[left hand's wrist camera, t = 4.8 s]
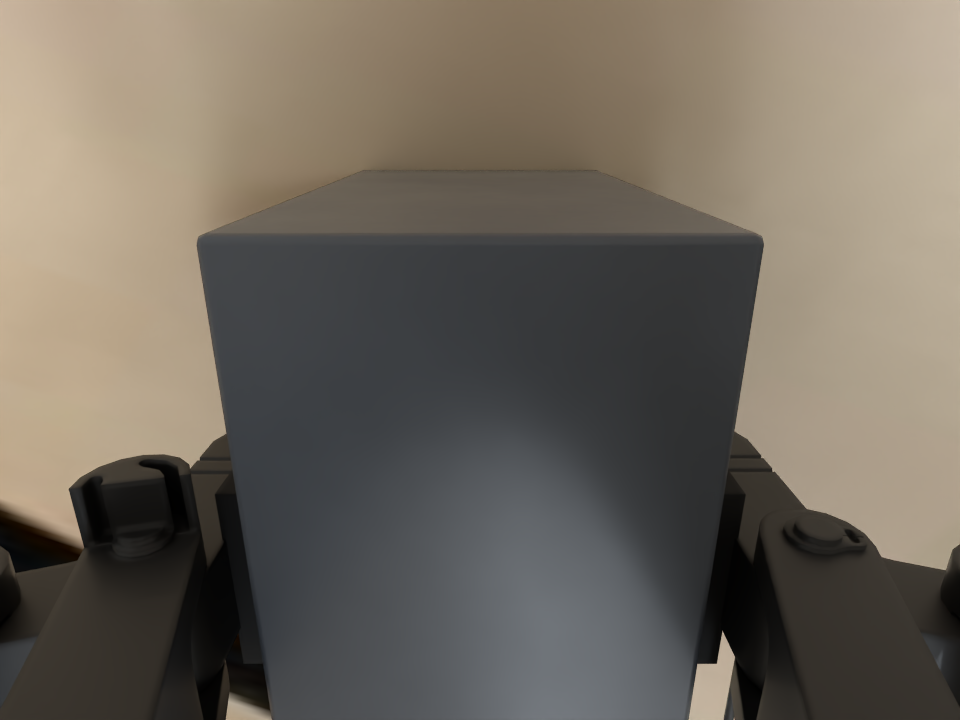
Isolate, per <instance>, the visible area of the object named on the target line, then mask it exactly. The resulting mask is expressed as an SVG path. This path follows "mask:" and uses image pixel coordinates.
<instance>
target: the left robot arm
mask: <svg viewBox="0 0 960 720" xmlns="http://www.w3.org/2000/svg"><path fill="white" fill-rule="evenodd" d="M69 492H70V496H71V499H72V503H73V507H74V511H75V514H76V518H77V522H78V526H79V529H80V533H81V537H82V541H83V544H84V549H83V551H82V553H81V555H80V557H79V559H78V561H74V562H70V563H66V564H61V565H56V566H51V567H46V568H40V569H35V570H30V571H25V572H20V573H15V571H14V567H13V564H12V561H11V558H10V555H9V552H7V551H6V550H5V549H3V548H2V547H1V546H0V720H226V713H227V705H228V698H229V690H230V685H229V678H228V671H227V666H226V661H225V660H226V658H227V655H228V653H229V651H230V649H231V647H232V645H233V643H234V641H235V639H236V637H237V634H238V633H239V639H240V645H241V650H242V656H243V662H244V664H263V659H262V653H261V647H260V640H259V634H258V628H257V621H256V615H255V609H254V603H253V596H252V590H251V584H250V577H249V571H248V565H247V558H246V552H245V546H244V540H243V533H242V527H241V521H240V514H239V508H238V502H237V496H236V489H235V483H234V477H233V470H232V464H231V458H230V451H229V445H228V439H227V434H225V435H224V436H222V437H220V438H218V439H217V440H215V441H213V443H212V444H211V445H210V446H209V447H208V449H207V450H206V451H205V452H204V453H203V454H202V456H201V457H200V461H197V462H196V463H195V464H194V465H193V466H192V468H191V469H190V467H189V464H188V463H186V462H185V461H184V460H182V459H181V458H178V457H174V456H169V455H142V456H136V457H131V458H126V459H121V460H118V461H115V462H112V463H109V464H107V465H104V466H101V467H98V468H97V469H95V470H93V471H91V472H89V473H88V474H86V475H84V476H82V477H81V478H79V479H78V480H77V481H76V482H75V483H74V484H73V485H72V486H71V487H70V488H69ZM722 630H723V632H724V635H725V637H726V639H727V641H728V643H729V645H730V647H731V649H732V651H733V653H734V655H735V661H734V666H733V671H732V677H731V682H730V688H729V693H728V698H727V704H726V709H725V715H724V720H733V719H735V720H960V545H958V546H957V547H956V548H954V549H953V550H952V553H951V557H950V560H949V563H948V566H947V569H946V571H945V570H940V569H935V568H930V567H925V566H919V565H914V564H909V563H904V562H899V561H894V560H890V559H886V558H882V557H881V556H880V554H879V552H878V550H877V548H876V546H875V545H874V544H873V543H872V542H871V540H870V539H869V538H868V537H867V536H866V535H865V534H864V533H863V532H861V531H860V530H858V529H857V528H855V527H854V526H852V525H851V524H849V523H848V522H845V521H843V520H841V519H838V518H836V517H833V516H831V515H828V514H826V513H821V512H817V511H812V510H808V509H806V508H805V507H804V506H803V504H802V503H801V502H800V501H799V500H798V499H797V497H796V496H795V495H794V494H793V493H792V491H791V490H790V489H789V488H788V487H787V486H786V484H785V483H784V482H783V481H782V480H781V479H780V477H779V476H778V475H777V474H776V473H775V472H772V468H771V467H770V466H769V464H768V463H767V462H766V461H765V460H764V458H761V455H760V454H759V453H758V451H757V450H756V449H755V448H754V447H753V445H752V444H751V443H750V442H749V441H748V440H747V439H746V438H744V437H742V436H741V435H739V434H737V433H736V432H734V435H733V442H732V448H731V454H730V461H729V467H728V473H727V480H726V486H725V492H724V498H723V505H722V511H721V517H720V524H719V530H718V536H717V543H716V549H715V555H714V561H713V568H712V574H711V580H710V587H709V593H708V599H707V606H706V612H705V618H704V624H703V631H702V637H701V643H700V650H699V656H698V662H697V664H717V659H718V653H719V647H720V641H721V635H722Z"/></svg>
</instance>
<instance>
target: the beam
mask: <svg viewBox="0 0 960 720" xmlns="http://www.w3.org/2000/svg"><path fill="white" fill-rule="evenodd" d="M763 246H764V243H763V238H762V236H760V235H758V234H756V233H753V232H751V231H748V230H746V229H743V228H741V227H738V226H735V225H733V224H730V223H728V222H725V221H723V220H720V219H718V218H715V217H713V216H710V215H708V214H705V213H703V212H700V211H698V210H695V209H692V208H690V207H687V206H685V205H682V204H680V203H677V202H675V201H672V200H670V199H667V198H665V197H662V196H660V195H657V194H655V193H652V192H649V191H647V190H644V189H642V188H639V187H637V186H634V185H632V184H629V183H627V182H624V181H622V180H619V179H617V178H614V177H611V176H609V175H606V174H604V173H601V172H599V171H596V170H584V171H361V172H358V173H356V174H353V175H351V176H348V177H346V178H343V179H341V180H338V181H336V182H333V183H331V184H328V185H326V186H323V187H321V188H318V189H316V190H313V191H311V192H308V193H306V194H303V195H301V196H298V197H296V198H293V199H291V200H288V201H285V202H283V203H280V204H278V205H275V206H273V207H270V208H268V209H265V210H263V211H260V212H258V213H255V214H253V215H250V216H248V217H245V218H243V219H240V220H238V221H235V222H233V223H230V224H228V225H225V226H223V227H220V228H218V229H215V230H213V231H210V232H208V233H205V234H203V235H201V236H199V237H198V241H197V250H198V256H199V262H200V269H201V275H202V281H203V288H204V294H205V300H206V307H207V313H208V319H209V325H210V332H211V338H212V344H213V351H214V357H215V363H216V370H217V376H218V382H219V388H220V395H221V401H222V407H223V414H224V420H225V426H226V433H227V439H228V445H229V451H230V458H231V464H232V470H233V477H234V483H235V489H236V496H237V502H238V508H239V514H240V521H241V527H242V533H243V540H244V546H245V552H246V558H247V565H248V571H249V577H250V584H251V590H252V596H253V603H254V609H255V615H256V621H257V628H258V634H259V640H260V647H261V653H262V659H263V666H264V672H265V678H266V684H267V691H268V697H269V703H270V710H271V716H272V720H688V719H689V713H690V706H691V700H692V694H693V687H694V681H695V675H696V669H697V662H698V656H699V650H700V643H701V637H702V631H703V624H704V618H705V612H706V606H707V599H708V593H709V587H710V580H711V574H712V568H713V561H714V555H715V549H716V543H717V536H718V530H719V524H720V517H721V511H722V505H723V498H724V492H725V486H726V480H727V473H728V467H729V461H730V454H731V448H732V442H733V435H734V429H735V423H736V417H737V410H738V404H739V398H740V391H741V385H742V379H743V372H744V366H745V360H746V354H747V347H748V341H749V335H750V328H751V322H752V316H753V309H754V303H755V297H756V291H757V284H758V278H759V272H760V265H761V259H762V253H763Z"/></svg>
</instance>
